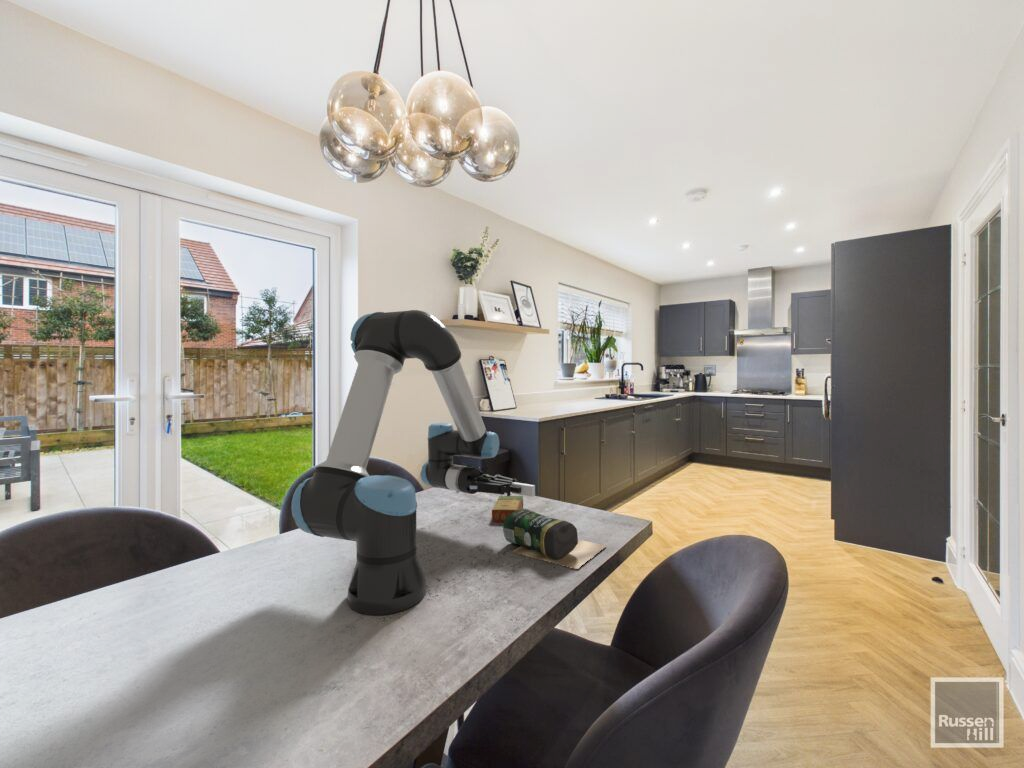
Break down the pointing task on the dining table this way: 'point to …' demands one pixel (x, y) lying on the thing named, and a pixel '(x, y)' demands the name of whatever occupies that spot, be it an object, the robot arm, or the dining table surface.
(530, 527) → the coffee jar
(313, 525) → the robot arm
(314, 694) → the dining table surface
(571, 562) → the mat
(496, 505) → the carton
